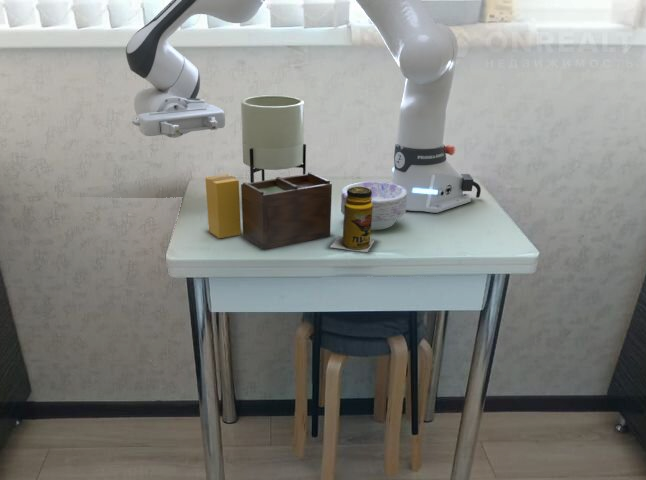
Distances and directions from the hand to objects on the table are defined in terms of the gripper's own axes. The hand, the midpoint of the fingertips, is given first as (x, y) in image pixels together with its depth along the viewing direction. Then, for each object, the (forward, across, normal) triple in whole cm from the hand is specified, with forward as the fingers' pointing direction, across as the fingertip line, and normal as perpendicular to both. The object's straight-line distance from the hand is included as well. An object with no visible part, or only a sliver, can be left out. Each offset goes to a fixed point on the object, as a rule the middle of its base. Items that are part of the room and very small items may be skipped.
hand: (195, 128), depth 156 cm
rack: (+21, +11, +20) cm, 31 cm away
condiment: (+33, +21, +20) cm, 44 cm away
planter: (-5, +23, +20) cm, 31 cm away
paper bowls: (+24, +33, +20) cm, 46 cm away
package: (+12, 0, +20) cm, 23 cm away
